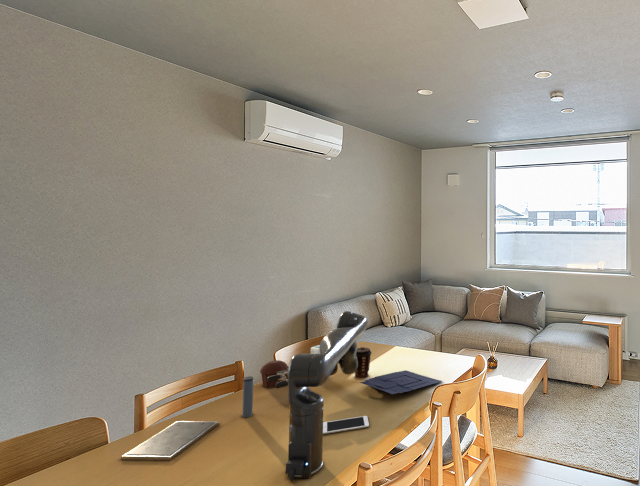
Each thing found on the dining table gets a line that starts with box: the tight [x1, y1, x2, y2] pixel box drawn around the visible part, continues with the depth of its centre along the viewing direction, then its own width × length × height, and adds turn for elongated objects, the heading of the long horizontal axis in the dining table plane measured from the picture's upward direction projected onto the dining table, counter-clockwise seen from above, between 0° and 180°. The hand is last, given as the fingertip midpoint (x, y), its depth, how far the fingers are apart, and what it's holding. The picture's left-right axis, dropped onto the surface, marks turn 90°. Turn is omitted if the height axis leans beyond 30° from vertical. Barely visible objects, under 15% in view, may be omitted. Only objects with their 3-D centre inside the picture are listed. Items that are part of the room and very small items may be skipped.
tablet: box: [121, 420, 220, 461], centre depth 129 cm, size 22×15×1 cm
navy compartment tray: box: [359, 370, 443, 395], centre depth 176 cm, size 24×30×4 cm
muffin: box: [259, 359, 289, 389], centre depth 177 cm, size 12×11×10 cm
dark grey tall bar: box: [242, 375, 254, 418], centre depth 147 cm, size 3×3×14 cm
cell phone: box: [323, 415, 370, 435], centre depth 140 cm, size 8×16×1 cm, turn 111°
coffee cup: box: [354, 346, 372, 380], centre depth 187 cm, size 9×8×13 cm
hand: (271, 382), depth 154 cm, fingers open, 8 cm apart
